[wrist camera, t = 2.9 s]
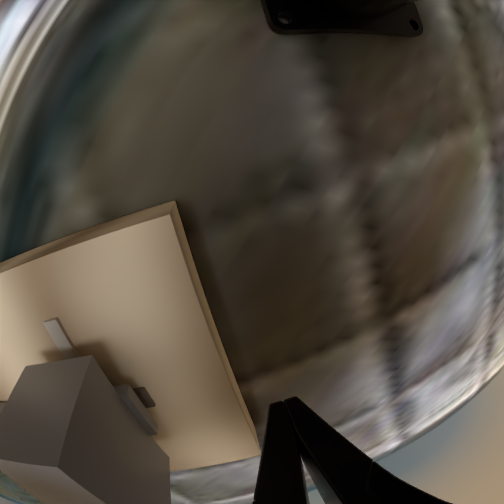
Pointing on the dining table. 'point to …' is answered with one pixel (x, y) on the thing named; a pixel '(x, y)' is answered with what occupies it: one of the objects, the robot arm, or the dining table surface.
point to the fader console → (130, 329)
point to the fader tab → (81, 438)
